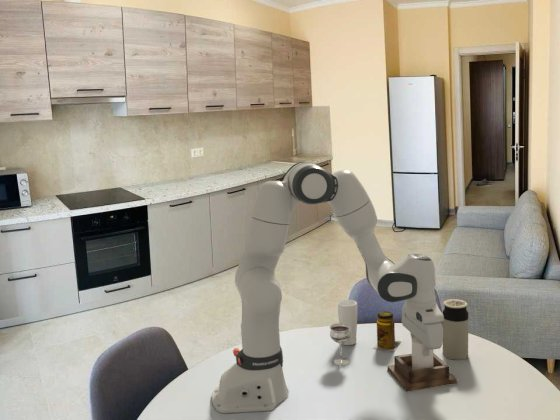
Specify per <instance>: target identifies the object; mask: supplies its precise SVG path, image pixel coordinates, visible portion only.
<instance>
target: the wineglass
mask: <svg viewBox="0 0 560 420" xmlns="http://www.w3.org/2000/svg"><path fill="white" fill-rule="evenodd" d="M329 328H330V330H329V337H330V339H331V340H332V341H334V342H335V343H337V344H338V346H339V354H340V355H339V356H340V358H336V359H335V360H333V363H334V364H335V365H337V366H345V365H348V364H350V361H349V359H347V358H343V353H342V351H343V349H342V348H343V345H344V344H343V343H344V342H346V341H347V340H348V339H349V338H350V335H351V332H350V330H349V329H350V326H349V325H347V324H342V323H339V322H338V323H333V324H331V325H330V326H329Z"/></svg>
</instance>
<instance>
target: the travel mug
mask: <svg viewBox="0 0 560 420" xmlns="http://www.w3.org/2000/svg"><path fill="white" fill-rule="evenodd" d="M443 307H444V309H443V310H442V314H443V316H444V321H442V326H443V343H442V355H443V356H444V357H446V358H447V359H450V360H456V361H457V360H458V361H459V360H460V361H461V360H463V359H464V360H465V359H466V358H467V357H469V312H468V310H467V307H468V303H467V302H466V300H463V299H455V298H452V299H446V300H444V301H443Z"/></svg>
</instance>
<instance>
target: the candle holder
mask: <svg viewBox="0 0 560 420" xmlns="http://www.w3.org/2000/svg"><path fill="white" fill-rule="evenodd" d="M393 359H394V360H393V361H394V364H390V365H389V364H388V365H386V366H387V371H388V372H389V373H390V374H391V376H392V377H393V378H394V379H395V380H396V381H397V383H398V385H400V386H401V387H402V389H403V390H404V391H405V392H414V391H421V390H427V389H431V388H437V387H438V388H439V387H443V386H450V385H455V384H458V378H457V377H456V376H455V375H453V373H451V371H450V365H448V364H447V363H446V362H444V360H442V359H441V358H440V357H439V356H438V355H437V354H436V353H435V352H433V367H431V368H424V369H418V370H412V353H406V354H401V355H395V356H394V357H393Z"/></svg>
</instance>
